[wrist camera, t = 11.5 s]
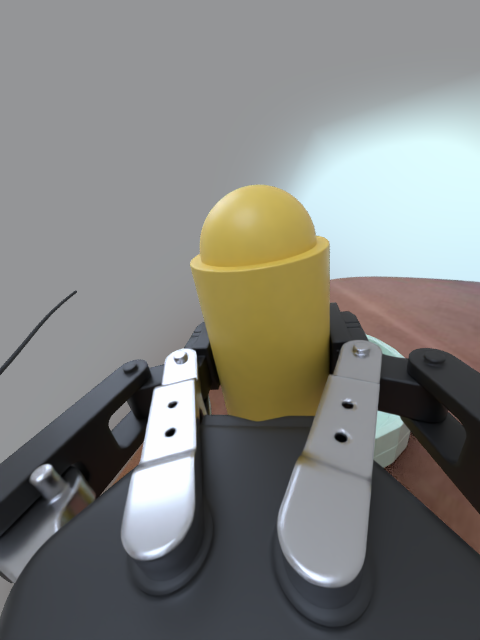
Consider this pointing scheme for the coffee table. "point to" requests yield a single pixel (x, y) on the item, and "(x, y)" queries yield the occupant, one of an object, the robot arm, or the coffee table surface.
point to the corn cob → (265, 303)
